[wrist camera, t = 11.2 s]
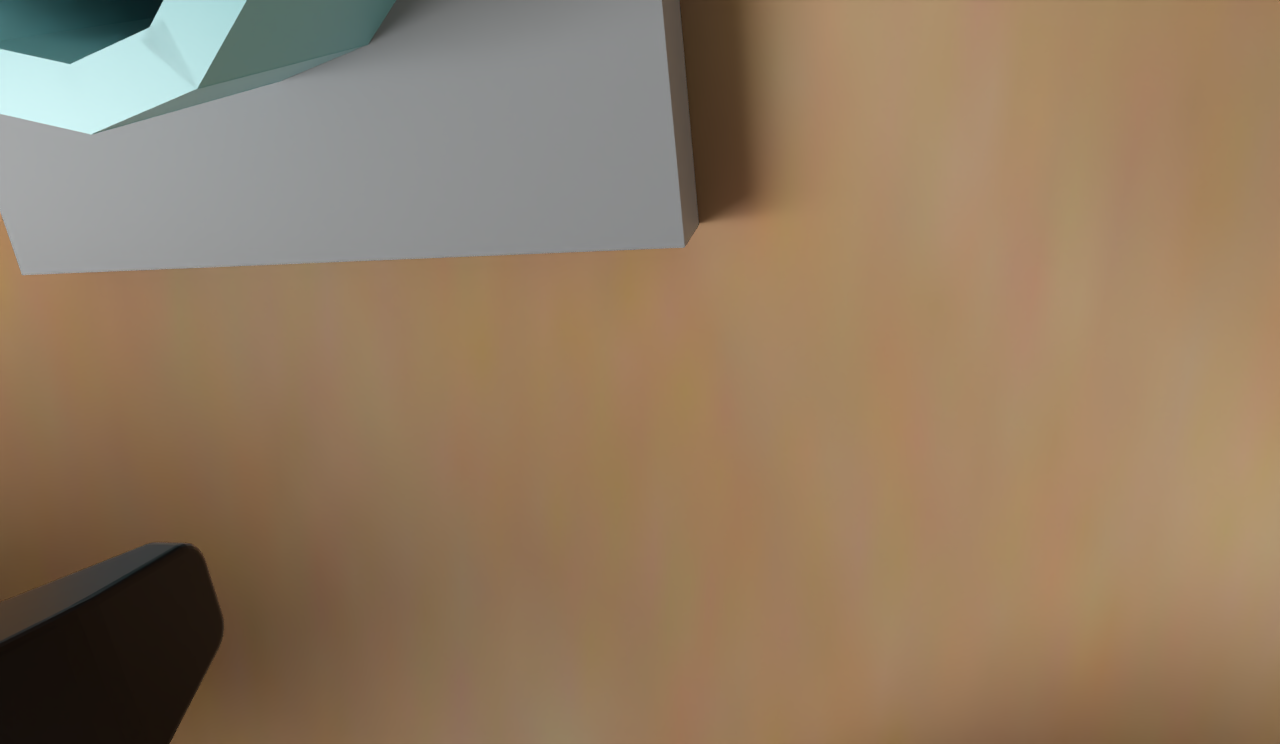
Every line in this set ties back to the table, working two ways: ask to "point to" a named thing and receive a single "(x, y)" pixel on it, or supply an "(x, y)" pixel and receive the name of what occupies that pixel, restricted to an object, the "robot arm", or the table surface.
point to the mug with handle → (162, 53)
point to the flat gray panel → (387, 151)
